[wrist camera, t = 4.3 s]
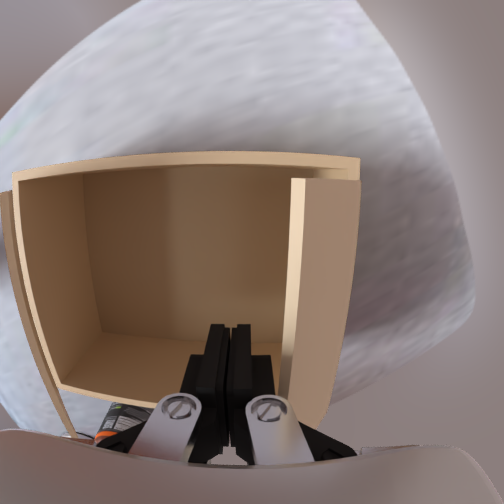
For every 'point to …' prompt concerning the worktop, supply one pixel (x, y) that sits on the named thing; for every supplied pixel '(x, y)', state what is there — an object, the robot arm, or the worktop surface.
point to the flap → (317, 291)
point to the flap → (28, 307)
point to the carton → (157, 261)
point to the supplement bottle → (122, 419)
